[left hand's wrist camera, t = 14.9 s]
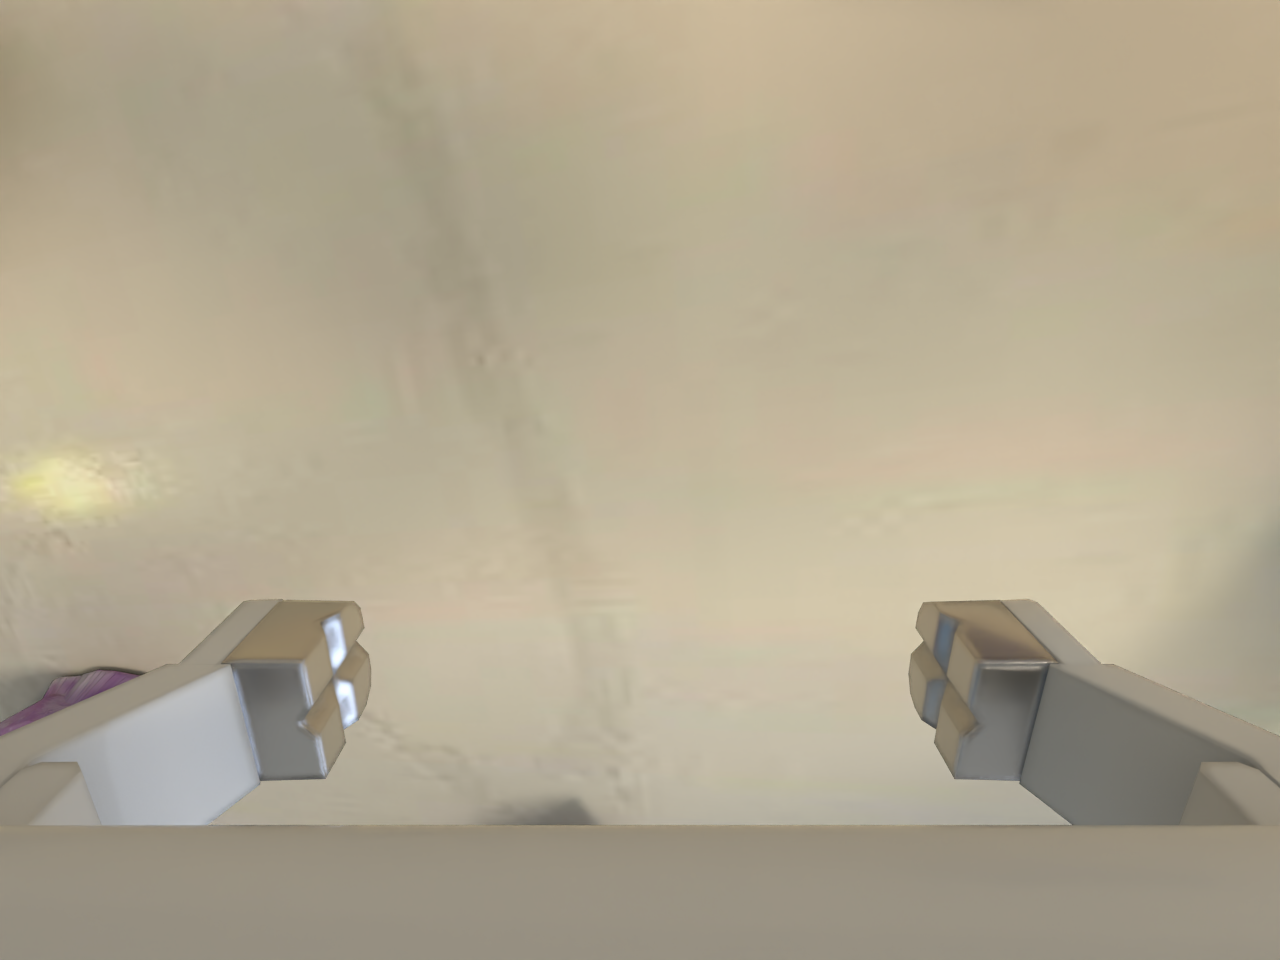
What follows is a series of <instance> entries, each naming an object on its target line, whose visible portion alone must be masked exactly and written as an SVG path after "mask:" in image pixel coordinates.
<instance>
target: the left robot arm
mask: <svg viewBox="0 0 1280 960" xmlns="http://www.w3.org/2000/svg"><path fill="white" fill-rule="evenodd" d="M363 629H364V623H363V618H362V613H361V608H360V607H359V606H358V605H357V604H356V603H355V602H354V601H321V600H283V599H270V600H249V601H244V602H242V603H241V604H240V605H239V606H238V607H237V608H236V609H235V610H234V611H233V612H232V613H231V614H230V615H229V616H228V617H227V618H226V619H225V620H224V621H223V622H222V623H221V624H220V625H219V626H218V627H216V628H215V629H214V630H213V631H212V632H211V633H210V634H209V635H208V636H207V637H206V638H205V639H204V640H203V641H202V642H201V643H200V644H199V645H198V646H197V647H196V648H195V649H194V650H193V651H192V652H191V653H189V654H188V655H187V656H186V657H185V658H184V659H183V660H182V661H181V662H180V663H179V664H166V665H164V666H161V667H159V668H157V669H154V670H152V671H150V672H148V673H145V674H143V675H141V676H138V677H136V678H134V679H131V680H129V681H127V682H124V683H122V684H120V685H117V686H115V687H113V688H111V689H108V690H106V691H104V692H101V693H99V694H97V695H94V696H92V697H90V698H87V699H85V700H83V701H80V702H78V703H76V704H74V705H71V706H69V707H67V708H64V709H62V710H60V711H57V712H55V713H53V714H50V715H48V716H46V717H43V718H41V719H39V720H37V721H34V722H32V723H30V724H27V725H25V726H23V727H20V728H18V729H16V730H13V731H11V732H9V733H6V734H4V735H2V736H0V960H1280V736H1278V735H1275V734H1273V733H1271V732H1269V731H1266V730H1264V729H1262V728H1259V727H1257V726H1255V725H1252V724H1250V723H1248V722H1245V721H1243V720H1241V719H1239V718H1236V717H1234V716H1232V715H1229V714H1227V713H1225V712H1222V711H1220V710H1218V709H1215V708H1213V707H1211V706H1209V705H1206V704H1204V703H1202V702H1199V701H1197V700H1195V699H1192V698H1190V697H1188V696H1185V695H1183V694H1181V693H1179V692H1176V691H1174V690H1172V689H1169V688H1167V687H1165V686H1162V685H1160V684H1158V683H1155V682H1153V681H1151V680H1149V679H1146V678H1144V677H1142V676H1139V675H1137V674H1135V673H1132V672H1130V671H1128V670H1126V669H1123V668H1121V667H1119V666H1116V665H1114V664H1101V663H1100V662H1099V661H1098V660H1097V659H1096V658H1095V657H1094V656H1093V655H1092V654H1091V653H1090V652H1089V651H1087V650H1086V649H1085V648H1084V647H1083V646H1082V645H1081V644H1080V643H1079V642H1078V641H1077V640H1076V639H1075V638H1074V637H1073V636H1072V635H1071V634H1070V633H1069V632H1068V631H1067V630H1066V629H1065V628H1064V627H1063V626H1062V625H1061V624H1060V623H1058V622H1057V621H1056V620H1055V619H1054V618H1053V617H1052V616H1051V615H1050V614H1049V613H1048V612H1047V611H1046V610H1045V609H1044V608H1043V607H1042V606H1041V605H1040V604H1039V603H1038V602H1035V601H1032V600H1029V599H1016V600H984V601H943V602H924V603H923V604H922V606H921V608H920V610H919V612H918V617H917V622H916V629H917V631H918V632H919V634H920V636H921V637H922V639H923V640H924V641H923V642H922V644H921V645H920V646H919V647H918V648H917V649H916V650H915V651H914V652H913V653H912V654H911V659H910V667H909V685H910V694H911V697H912V700H913V703H914V707H915V709H916V711H917V712H918V714H919V716H920V718H921V720H922V721H924V722H926V723H927V724H929V725H930V726H932V727H933V728H935V729H936V735H935V740H934V743H935V745H936V747H937V749H938V750H939V752H940V754H941V756H942V757H943V759H944V761H945V763H946V765H947V766H948V768H949V770H950V772H951V773H952V775H953V777H954V779H975V780H1011V781H1020V783H1019V784H1021V785H1022V786H1023V787H1024V788H1026V789H1027V790H1028V791H1030V792H1031V793H1032V794H1033V795H1035V796H1036V797H1037V798H1039V799H1040V800H1041V801H1043V802H1044V803H1045V804H1046V805H1048V806H1049V807H1050V808H1052V809H1053V810H1054V811H1055V812H1057V813H1058V814H1059V815H1061V816H1062V817H1063V818H1064V819H1066V820H1067V821H1068V822H1070V823H1071V824H1072V825H208V824H209V823H211V822H212V821H213V820H214V819H216V818H217V817H218V816H220V815H221V814H222V813H224V812H225V811H226V810H227V809H229V808H230V807H231V806H233V805H234V804H235V803H236V802H238V801H239V800H240V799H242V798H243V797H244V796H245V795H247V794H248V793H249V792H251V791H252V790H253V789H255V788H256V787H257V786H258V785H260V781H269V780H304V779H326V777H327V775H328V773H329V772H330V770H331V768H332V766H333V765H334V763H335V761H336V759H337V758H338V756H339V754H340V752H341V750H342V749H343V747H344V745H345V743H346V740H345V735H344V729H345V728H347V727H348V726H350V725H351V724H353V723H354V722H356V721H358V720H359V718H360V716H361V714H362V712H363V710H364V709H365V707H366V704H367V700H368V696H369V692H370V687H371V665H370V658H369V654H368V653H367V652H366V651H365V650H364V649H363V648H362V647H361V646H360V645H359V644H358V642H357V641H356V640H357V639H358V637H359V636H360V634H361V632H362V631H363Z"/></svg>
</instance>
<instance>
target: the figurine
mask: <svg viewBox="0 0 1280 960" xmlns="http://www.w3.org/2000/svg"><path fill="white" fill-rule="evenodd" d="M138 676H140V675H135V674H130V673H125V672H119V671H109V670H100V669H99V670H96V671H93V672H90V673H86V674H83V675H82V676H69V677H67V676H65V677H59V678H56V679H55V680H54V681H52V683H51V685H50V687H49V688H48V690H47V692H46V694H45V695H44V697H43V699H42V700H40V701H38V702H37V703H35V704H33V705H32V706H30V707H28V708H26V709H24V710H22V711H20V712H18V713H17V714H15V715H13V716H11V717H9V718H8V719H6V720H4V721H3V722H1V723H0V736H2V735H4V734H6V733H9V732H11V731H13V730H16V729H18V728H20V727H23V726H25V725H27V724H30V723H32V722H34V721H37V720H39V719H41V718H43V717H46V716H48V715H50V714H53V713H55V712H57V711H60V710H62V709H64V708H67V707H69V706H71V705H74V704H76V703H78V702H80V701H83V700H85V699H87V698H90V697H92V696H94V695H97V694H99V693H101V692H104V691H106V690H108V689H111V688H113V687H115V686H117V685H120V684H122V683H124V682H127V681H129V680H131V679H134V678H136V677H138Z"/></svg>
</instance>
